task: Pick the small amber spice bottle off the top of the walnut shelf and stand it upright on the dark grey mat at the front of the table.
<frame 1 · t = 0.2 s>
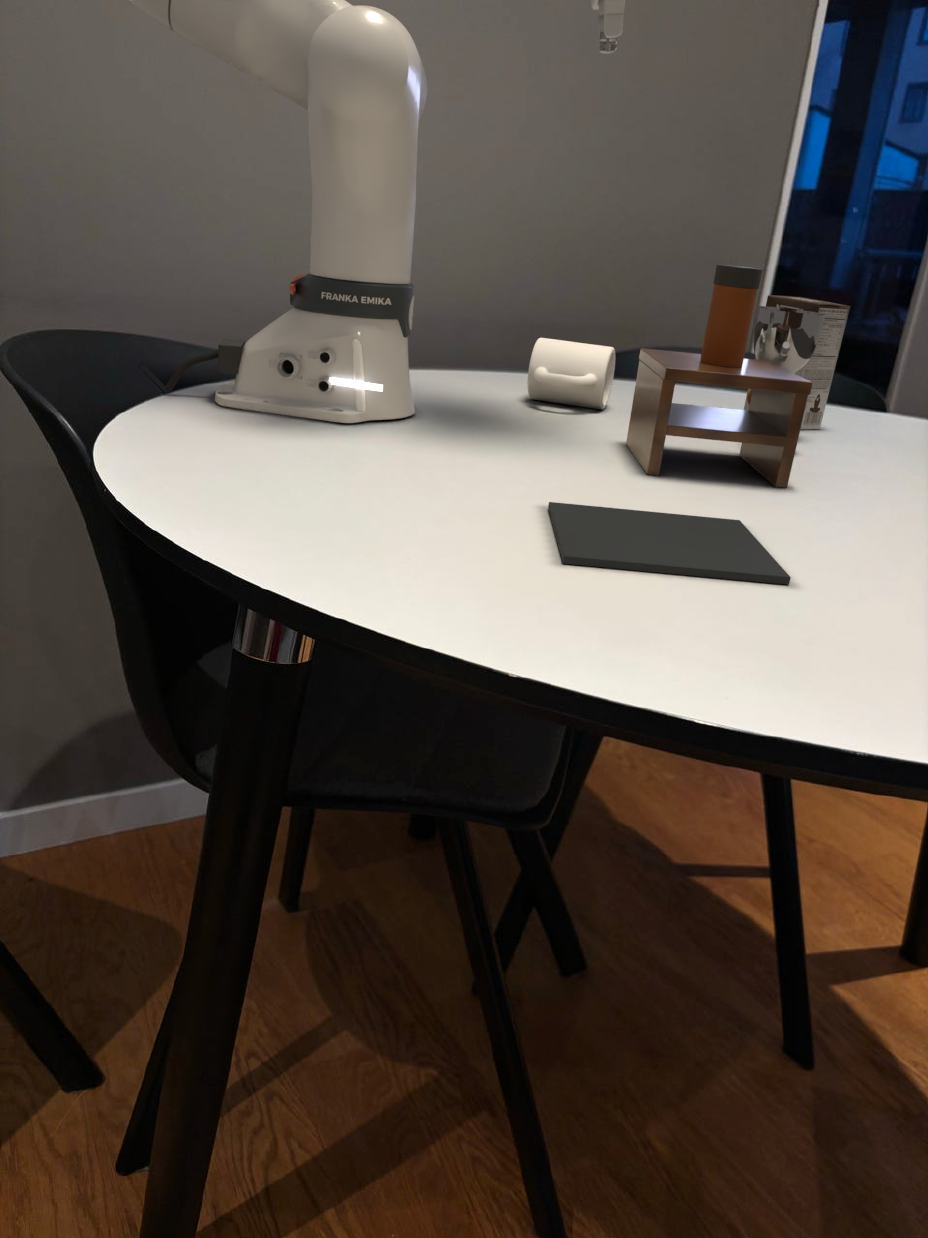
hand: (610, 44, 99), 39 cm above the table, tool pointing down, fingers open, 8 cm apart
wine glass: (764, 435, 124), on the table
coffee box: (780, 423, 133), on the table
mat: (658, 543, 75), on the table
shelf: (701, 464, 103), on the table
pill bottle: (771, 451, 114), on the table
mug: (564, 407, 128), on the table
spice bottle: (721, 363, 99), point 10 cm above the table, touching shelf
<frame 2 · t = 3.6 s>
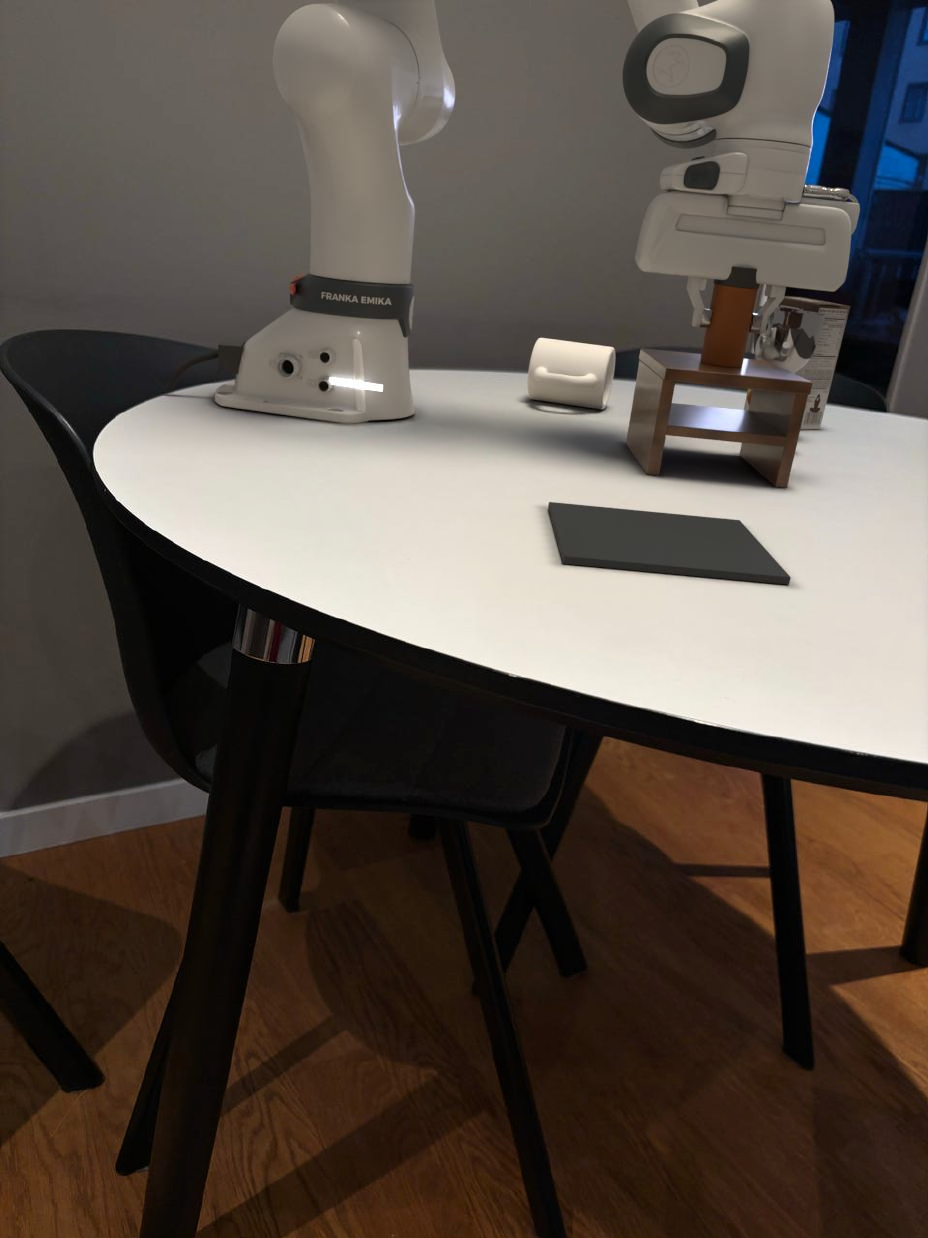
hand: (727, 329, 98), 14 cm above the table, tool pointing down, fingers closed on spice bottle, 4 cm apart
spice bottle: (721, 363, 99), point 10 cm above the table, touching gripper, shelf
everything else where it was.
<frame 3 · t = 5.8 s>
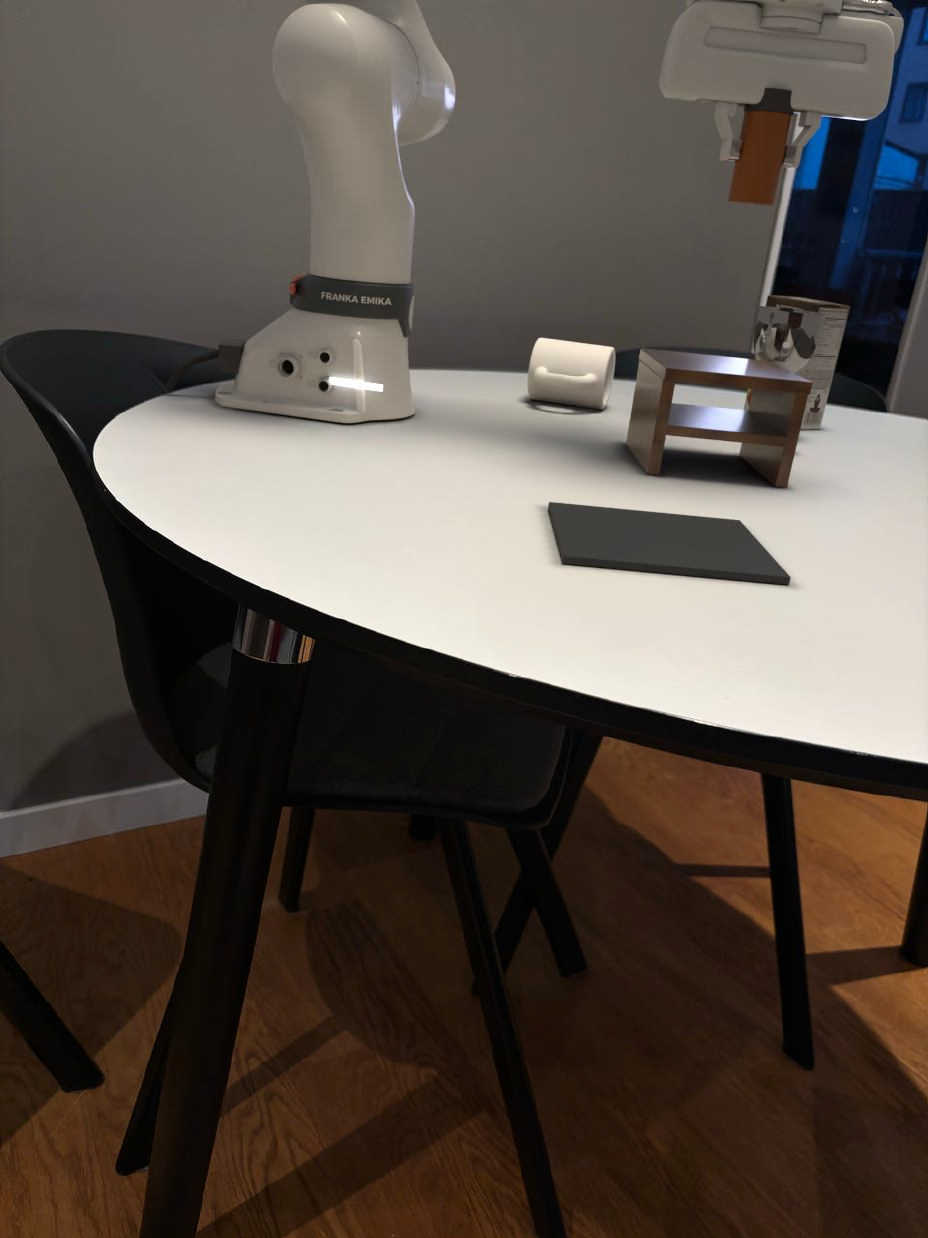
hand: (757, 164, 90), 29 cm above the table, tool pointing down, fingers closed on spice bottle, 4 cm apart
spice bottle: (750, 203, 92), point 25 cm above the table, touching gripper
everything else where it was.
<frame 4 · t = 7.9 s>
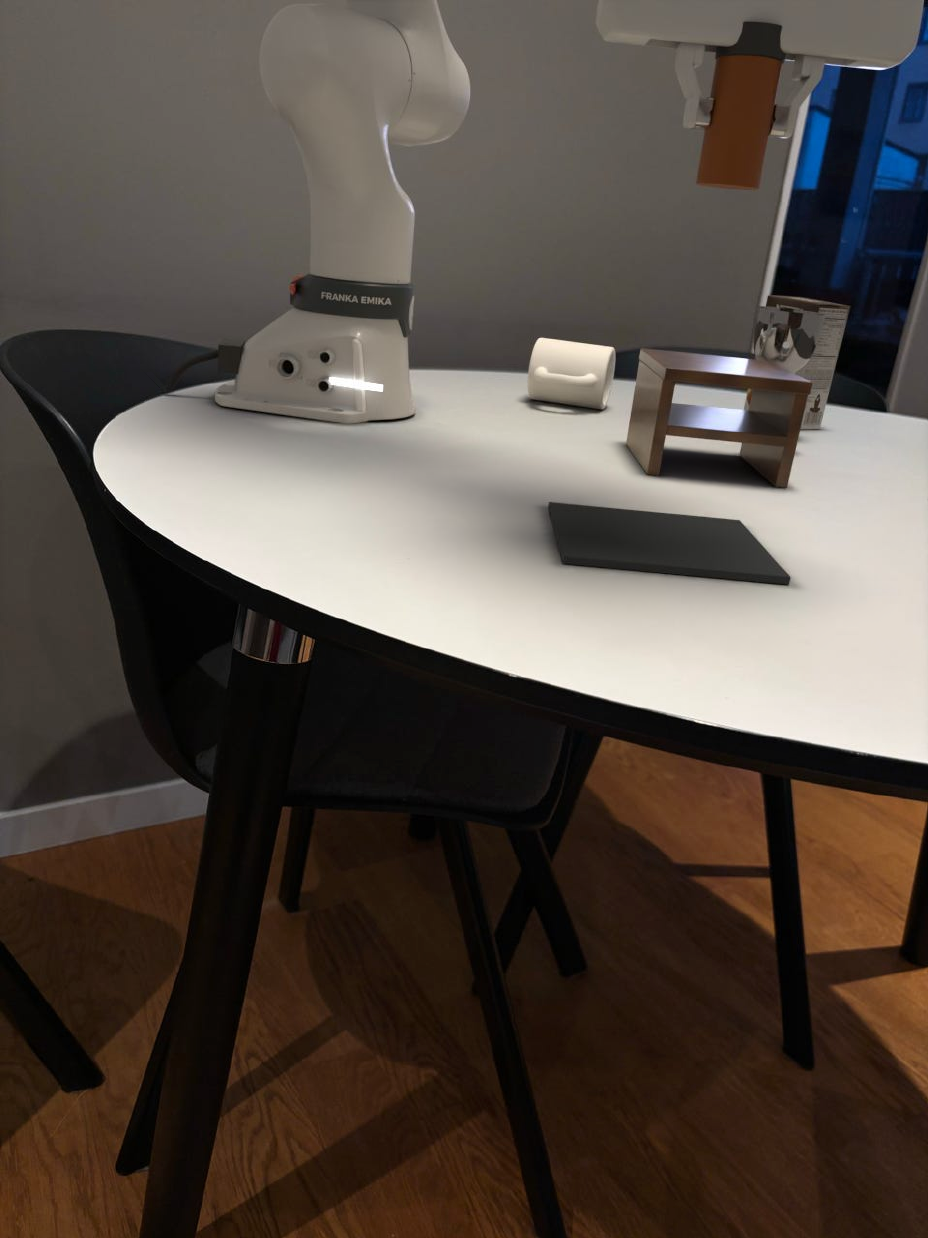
hand: (736, 132, 65), 28 cm above the table, tool pointing down, fingers closed on spice bottle, 4 cm apart
spice bottle: (727, 186, 66), point 25 cm above the table, touching gripper
everything else where it was.
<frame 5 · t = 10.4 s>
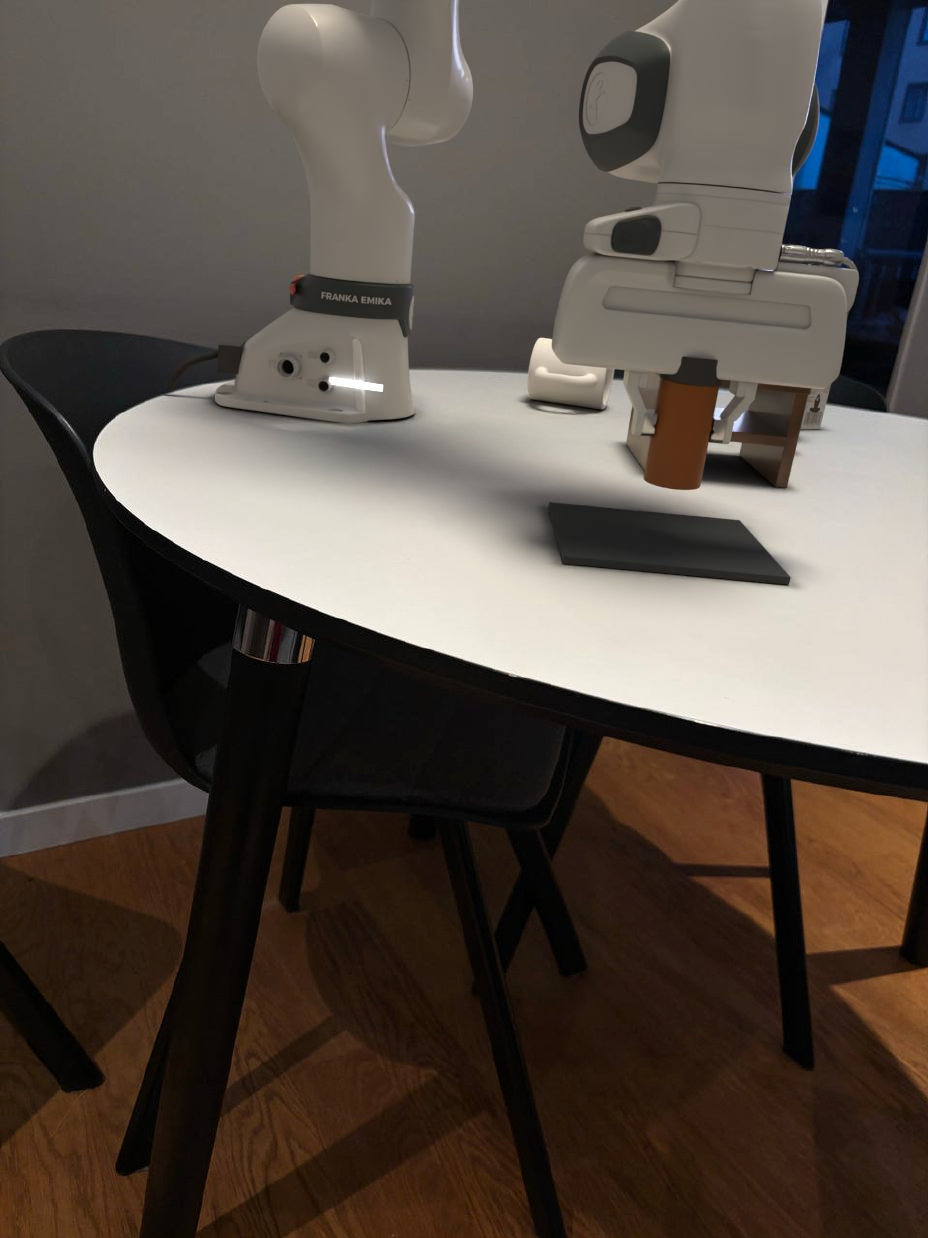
hand: (678, 438, 72), 8 cm above the table, tool pointing down, fingers closed on spice bottle, 4 cm apart
spice bottle: (671, 482, 73), point 5 cm above the table, touching gripper
everything else where it was.
when the fingers open (4 cm above the table, at t = 12.0 s): spice bottle stays where it is, resting on mat.
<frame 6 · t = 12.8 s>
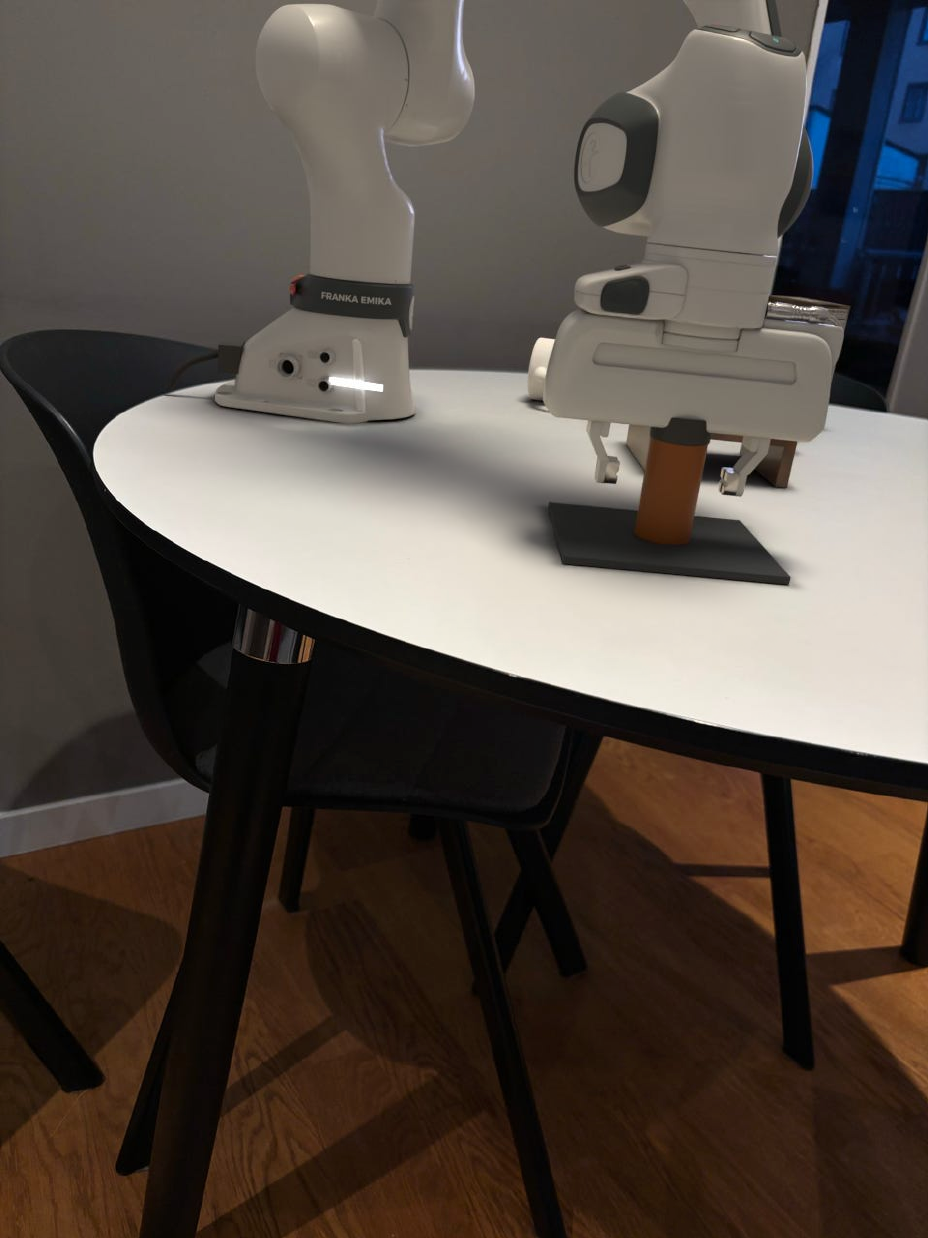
hand: (667, 487, 73), 4 cm above the table, tool pointing down, fingers open, 8 cm apart
spice bottle: (661, 536, 75), point 1 cm above the table, touching mat
everything else where it was.
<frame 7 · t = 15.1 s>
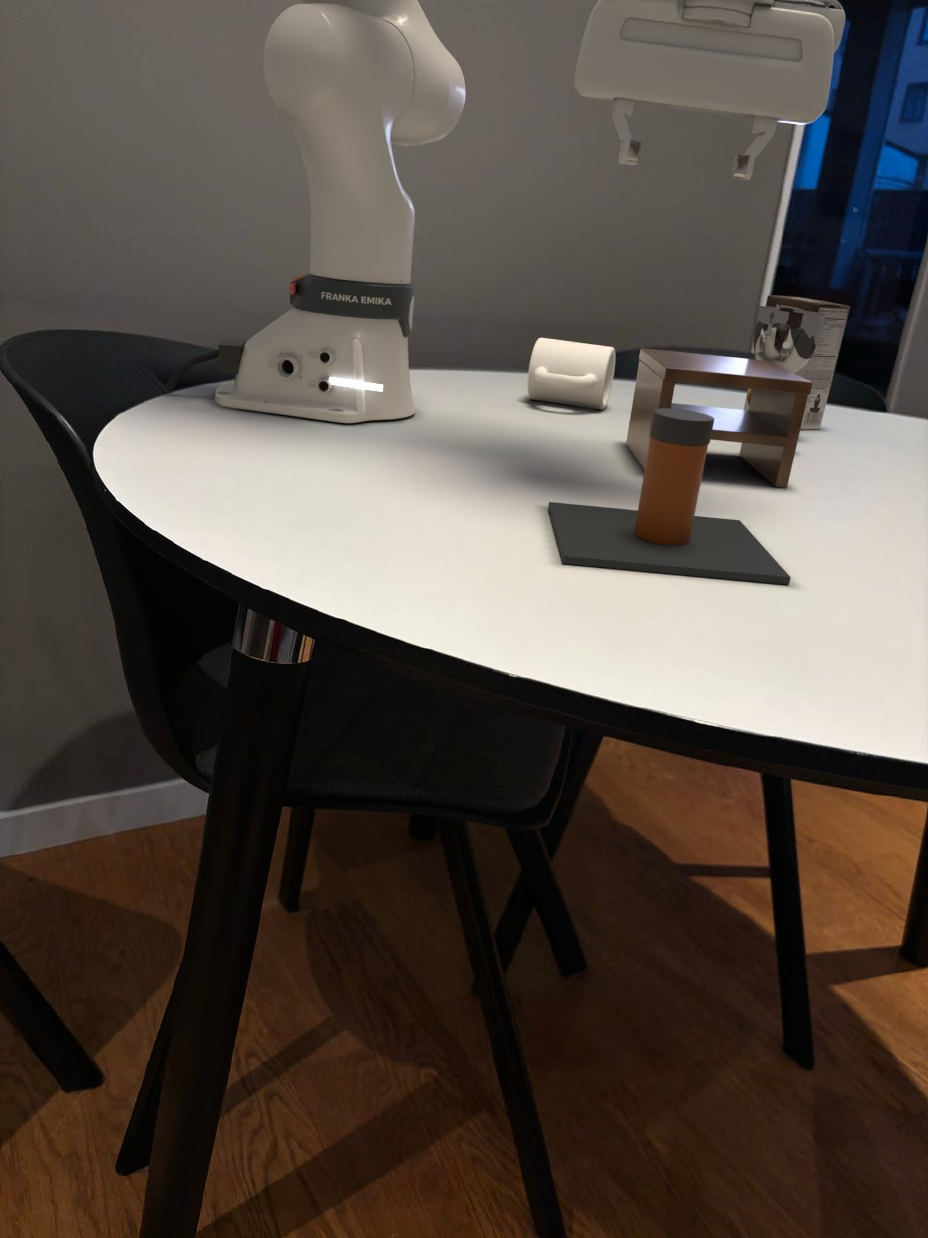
hand: (683, 171, 81), 27 cm above the table, tool pointing down, fingers open, 8 cm apart
nothing on the table moved.
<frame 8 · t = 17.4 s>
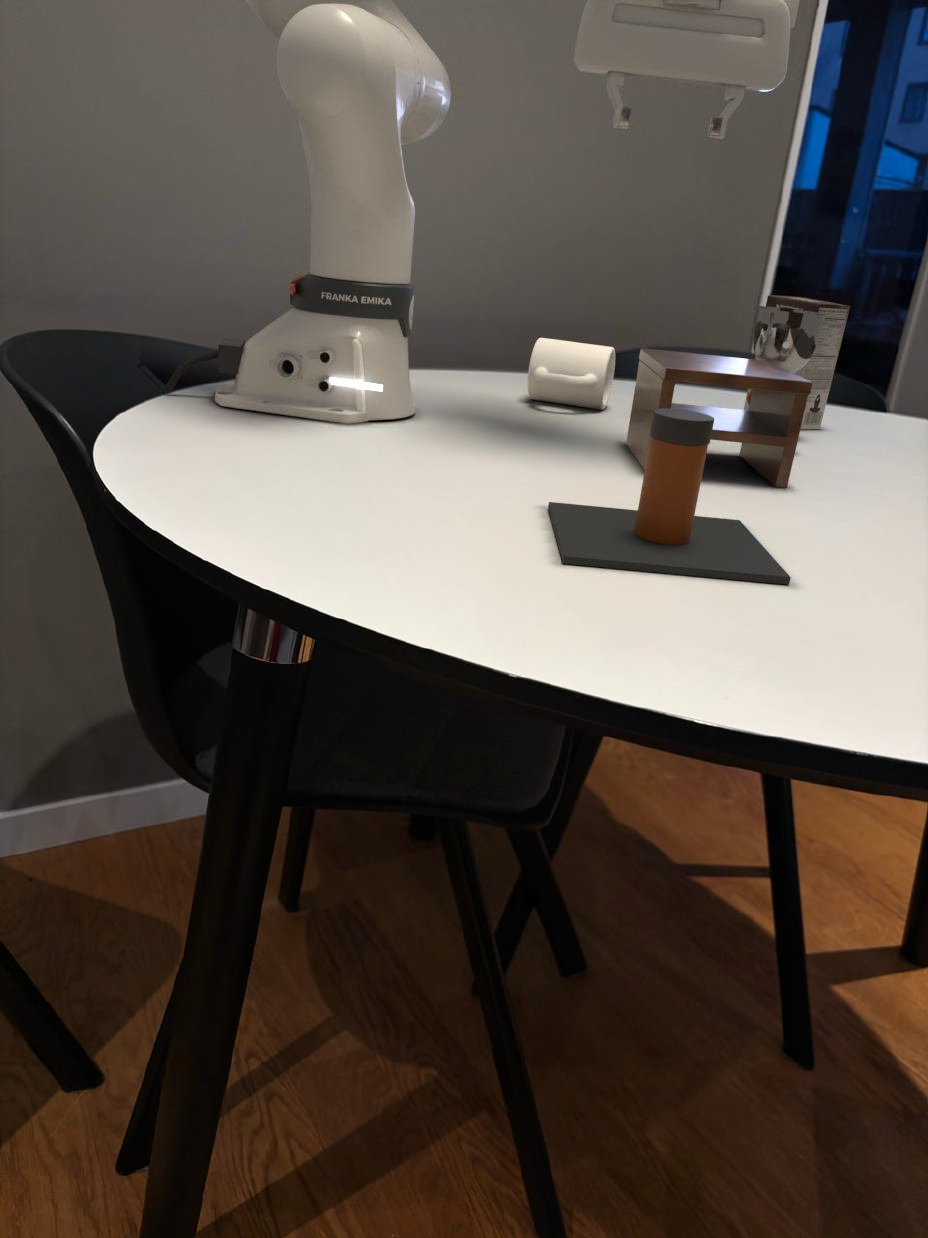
hand: (667, 133, 96), 31 cm above the table, tool pointing down, fingers open, 8 cm apart
nothing on the table moved.
at the end: spice bottle inside the target area on the mat (0.1 cm from its centre), point 0.6 cm above the mat's base; spice bottle tilted 0°; the gripper is holding nothing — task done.
